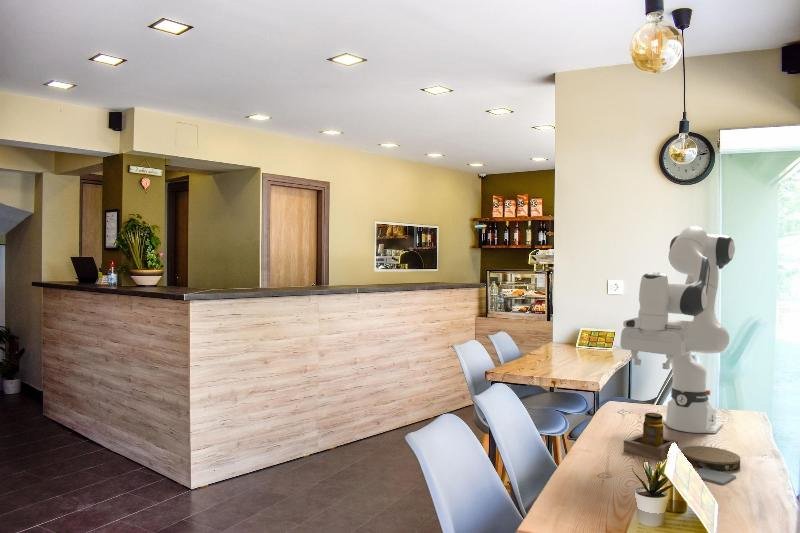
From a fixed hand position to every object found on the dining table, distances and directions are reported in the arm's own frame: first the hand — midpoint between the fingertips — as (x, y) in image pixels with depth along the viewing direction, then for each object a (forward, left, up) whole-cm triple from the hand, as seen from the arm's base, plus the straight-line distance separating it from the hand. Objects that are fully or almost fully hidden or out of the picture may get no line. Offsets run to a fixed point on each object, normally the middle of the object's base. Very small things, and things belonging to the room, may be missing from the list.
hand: (651, 366), depth 200 cm
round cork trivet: (-4, +17, -28) cm, 33 cm away
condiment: (+1, +1, -27) cm, 27 cm away
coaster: (+9, +23, -27) cm, 37 cm away
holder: (+1, +1, -27) cm, 27 cm away
